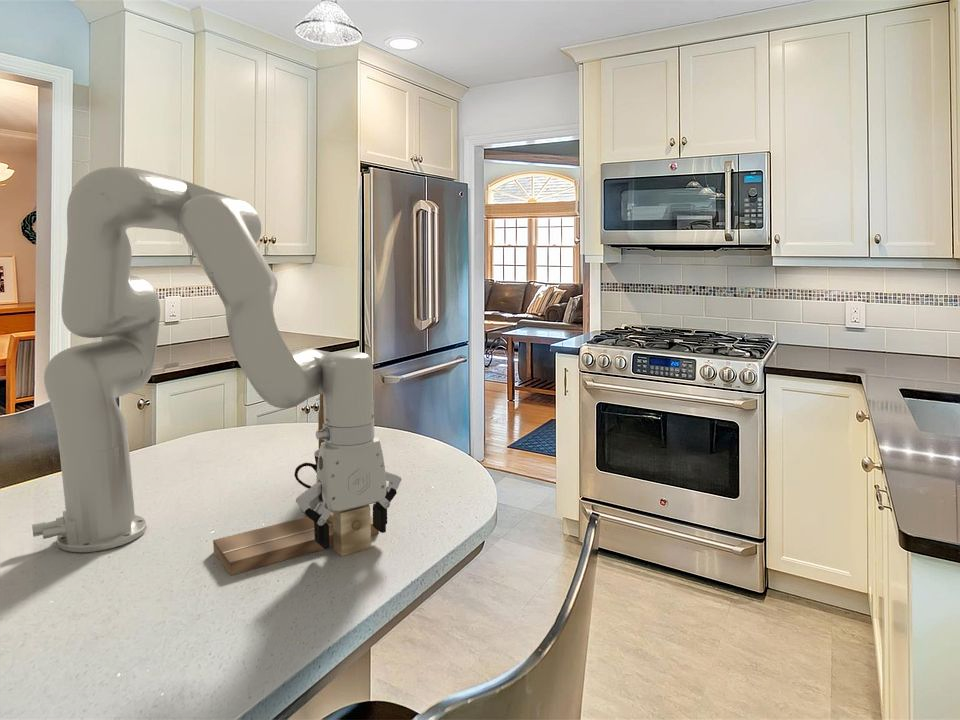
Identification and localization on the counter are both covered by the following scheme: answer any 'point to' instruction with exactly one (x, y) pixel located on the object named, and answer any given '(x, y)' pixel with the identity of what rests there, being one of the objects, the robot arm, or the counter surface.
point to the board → (270, 544)
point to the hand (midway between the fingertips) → (352, 537)
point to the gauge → (351, 530)
